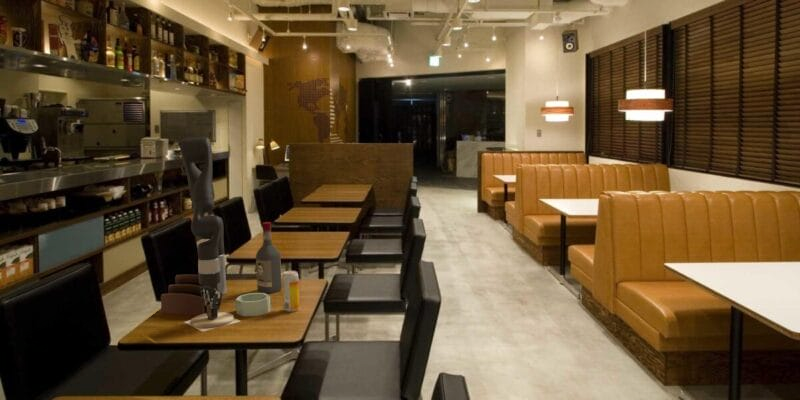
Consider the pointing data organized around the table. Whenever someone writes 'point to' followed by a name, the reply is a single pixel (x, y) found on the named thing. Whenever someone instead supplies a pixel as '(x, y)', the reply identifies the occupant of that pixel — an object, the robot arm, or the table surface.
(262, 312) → the bowl
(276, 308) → the table surface
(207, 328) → the mat
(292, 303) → the beer can
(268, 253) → the liquor
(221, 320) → the lid
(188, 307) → the letter holder
